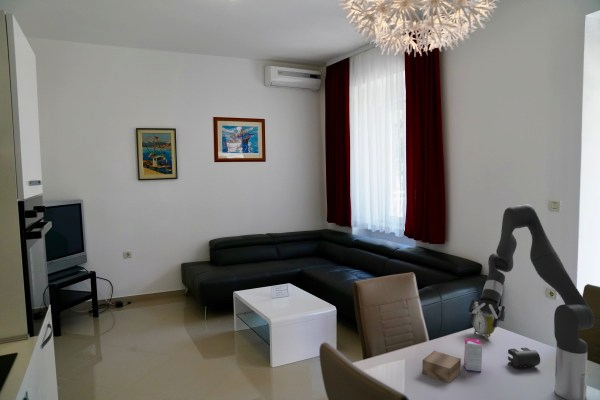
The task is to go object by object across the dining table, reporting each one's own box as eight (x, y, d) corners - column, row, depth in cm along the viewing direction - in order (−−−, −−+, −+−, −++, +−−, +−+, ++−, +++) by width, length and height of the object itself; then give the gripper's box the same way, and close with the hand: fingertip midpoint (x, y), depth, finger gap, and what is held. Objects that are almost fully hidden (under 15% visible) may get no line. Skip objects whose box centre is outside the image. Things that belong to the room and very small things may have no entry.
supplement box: (481, 372, 163) (482, 344, 162) (466, 371, 164) (466, 343, 164) (478, 365, 169) (479, 339, 168) (463, 364, 170) (464, 337, 169)
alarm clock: (470, 332, 204) (471, 302, 203) (483, 331, 205) (483, 302, 204) (485, 341, 193) (486, 310, 192) (498, 340, 194) (499, 309, 193)
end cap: (518, 371, 164) (518, 355, 164) (506, 363, 171) (507, 347, 171) (540, 369, 166) (541, 353, 166) (527, 361, 173) (528, 345, 173)
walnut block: (460, 373, 164) (460, 358, 163) (449, 383, 155) (449, 368, 155) (434, 364, 171) (434, 350, 170) (422, 374, 163) (422, 359, 162)
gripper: (473, 285, 184) (463, 317, 177) (507, 291, 175) (498, 325, 167) (477, 294, 189) (467, 325, 181) (510, 300, 179) (502, 333, 171)
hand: (482, 325), depth 174 cm, fingers open, 8 cm apart
